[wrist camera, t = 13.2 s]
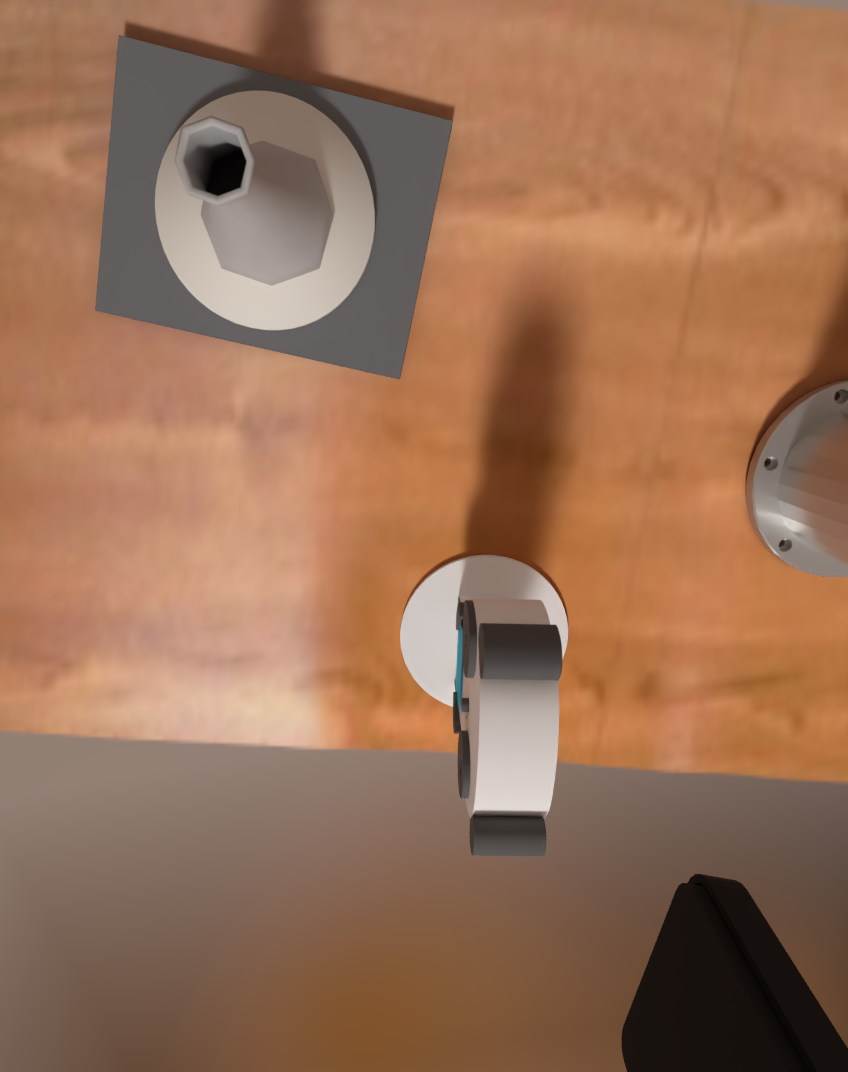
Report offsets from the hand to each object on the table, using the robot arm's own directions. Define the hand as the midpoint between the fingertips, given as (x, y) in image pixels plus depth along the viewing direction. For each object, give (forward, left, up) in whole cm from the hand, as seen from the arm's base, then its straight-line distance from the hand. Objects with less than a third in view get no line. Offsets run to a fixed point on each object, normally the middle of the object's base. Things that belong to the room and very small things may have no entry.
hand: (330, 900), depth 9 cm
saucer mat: (+10, -13, -33) cm, 37 cm away
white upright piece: (-8, +9, -34) cm, 36 cm away
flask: (+10, -13, -32) cm, 36 cm away
